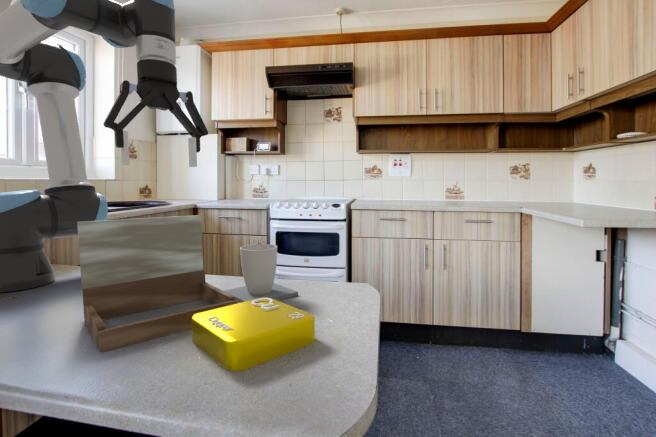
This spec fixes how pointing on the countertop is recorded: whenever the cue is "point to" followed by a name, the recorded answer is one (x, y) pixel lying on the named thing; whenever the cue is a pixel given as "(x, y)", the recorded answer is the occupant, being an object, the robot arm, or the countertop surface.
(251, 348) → the element tile
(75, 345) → the countertop surface
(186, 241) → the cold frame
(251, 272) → the cup
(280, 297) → the slate mat
